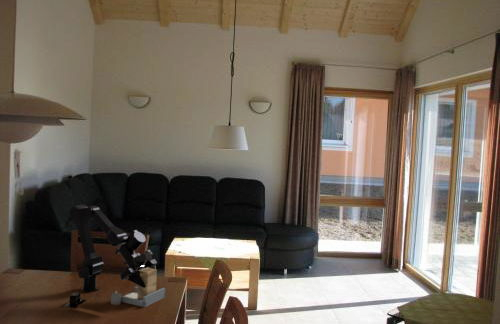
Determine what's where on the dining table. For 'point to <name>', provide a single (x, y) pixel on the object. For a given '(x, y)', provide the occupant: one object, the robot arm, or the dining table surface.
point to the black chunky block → (74, 300)
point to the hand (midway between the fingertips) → (149, 285)
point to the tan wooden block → (147, 282)
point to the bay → (133, 297)
